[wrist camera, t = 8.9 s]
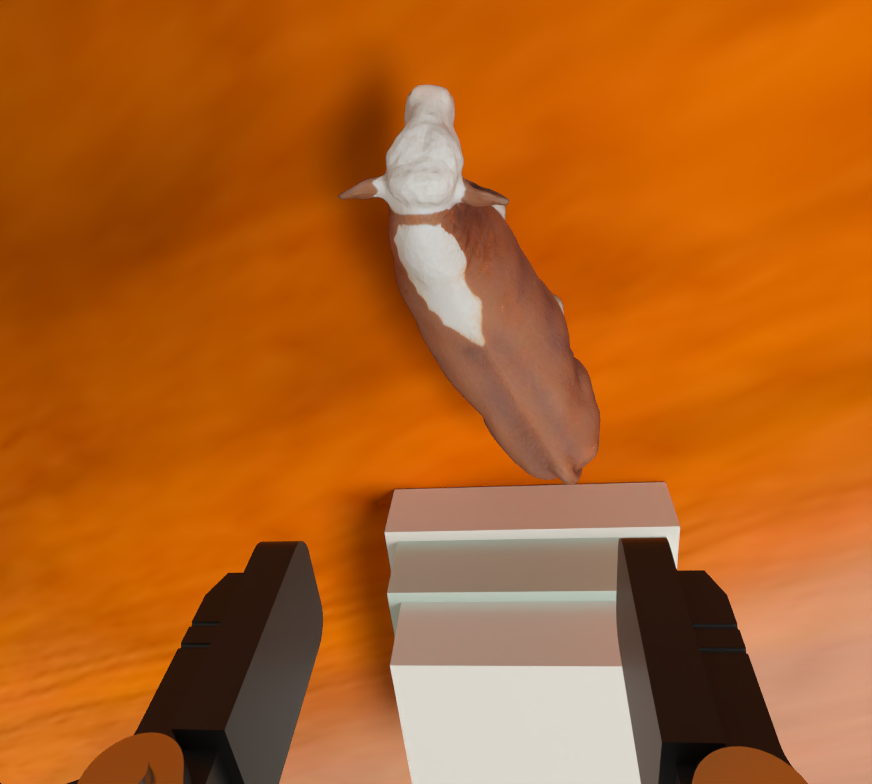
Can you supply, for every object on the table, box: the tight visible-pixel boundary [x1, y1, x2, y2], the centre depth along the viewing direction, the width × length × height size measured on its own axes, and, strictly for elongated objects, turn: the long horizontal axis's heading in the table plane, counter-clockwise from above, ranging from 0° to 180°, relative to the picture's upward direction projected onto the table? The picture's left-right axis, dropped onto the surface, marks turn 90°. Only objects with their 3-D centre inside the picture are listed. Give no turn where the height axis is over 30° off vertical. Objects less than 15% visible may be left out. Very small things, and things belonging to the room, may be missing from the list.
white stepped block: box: [384, 482, 680, 784], centre depth 31 cm, size 15×12×9 cm
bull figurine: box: [338, 85, 600, 485], centre depth 23 cm, size 4×13×8 cm, turn 25°
